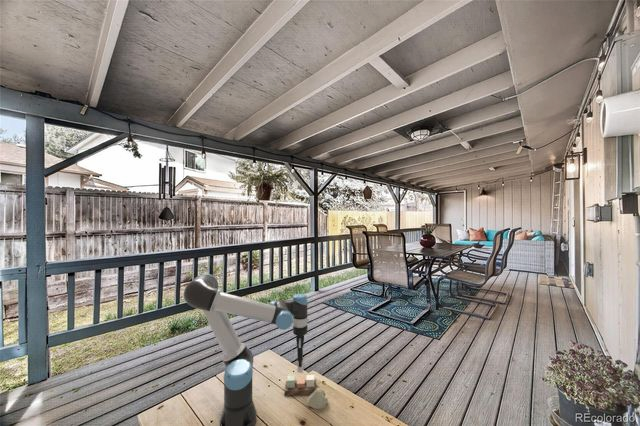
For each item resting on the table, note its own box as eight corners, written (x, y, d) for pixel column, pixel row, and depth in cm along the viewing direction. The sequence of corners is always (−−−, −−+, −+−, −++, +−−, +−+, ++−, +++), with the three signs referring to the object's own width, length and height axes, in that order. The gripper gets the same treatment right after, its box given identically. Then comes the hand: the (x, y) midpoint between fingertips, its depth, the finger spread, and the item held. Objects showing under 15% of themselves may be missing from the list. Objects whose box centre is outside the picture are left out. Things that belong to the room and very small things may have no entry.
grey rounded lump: (332, 401, 113) (319, 399, 109) (321, 415, 113) (308, 412, 110) (326, 385, 120) (314, 381, 116) (316, 397, 121) (304, 394, 117)
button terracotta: (296, 391, 123) (296, 383, 123) (297, 385, 127) (297, 378, 127) (304, 390, 123) (304, 383, 123) (304, 385, 127) (304, 378, 127)
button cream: (306, 387, 123) (306, 379, 123) (306, 382, 127) (306, 375, 127) (314, 386, 123) (314, 379, 123) (314, 381, 127) (314, 374, 127)
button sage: (286, 387, 123) (286, 380, 123) (287, 382, 127) (287, 375, 127) (294, 387, 123) (294, 380, 123) (295, 382, 127) (295, 375, 127)
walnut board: (284, 395, 121) (284, 390, 121) (286, 384, 129) (286, 380, 129) (316, 393, 121) (316, 389, 121) (316, 383, 129) (316, 379, 129)
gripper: (307, 330, 120) (307, 379, 119) (307, 320, 133) (307, 364, 132) (292, 330, 120) (291, 380, 119) (294, 320, 133) (293, 364, 132)
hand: (300, 371), depth 125 cm, fingers closed
